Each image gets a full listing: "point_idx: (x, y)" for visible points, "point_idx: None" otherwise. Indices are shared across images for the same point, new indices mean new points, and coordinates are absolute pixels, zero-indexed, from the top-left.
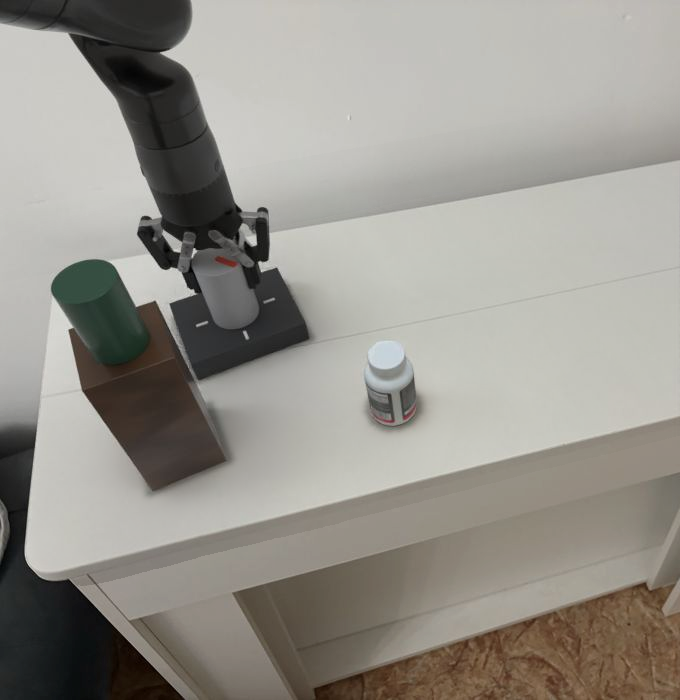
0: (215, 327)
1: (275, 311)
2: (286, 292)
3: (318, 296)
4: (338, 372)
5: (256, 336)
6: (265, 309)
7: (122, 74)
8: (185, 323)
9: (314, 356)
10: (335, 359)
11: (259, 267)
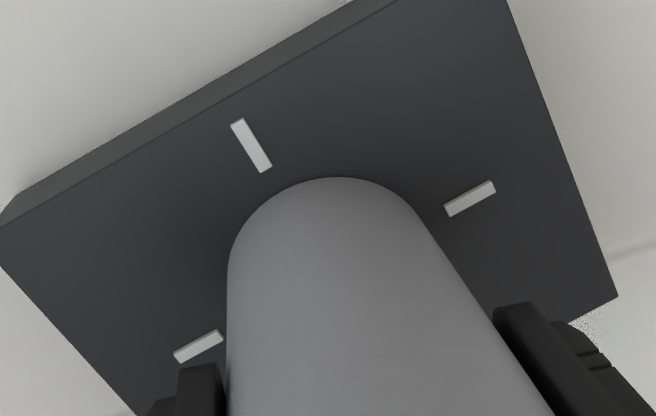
0: None
1: (499, 251)
2: (542, 137)
3: (609, 31)
4: (651, 365)
5: None
6: (456, 244)
7: None
8: (119, 345)
9: (583, 318)
10: (647, 323)
11: (608, 364)
